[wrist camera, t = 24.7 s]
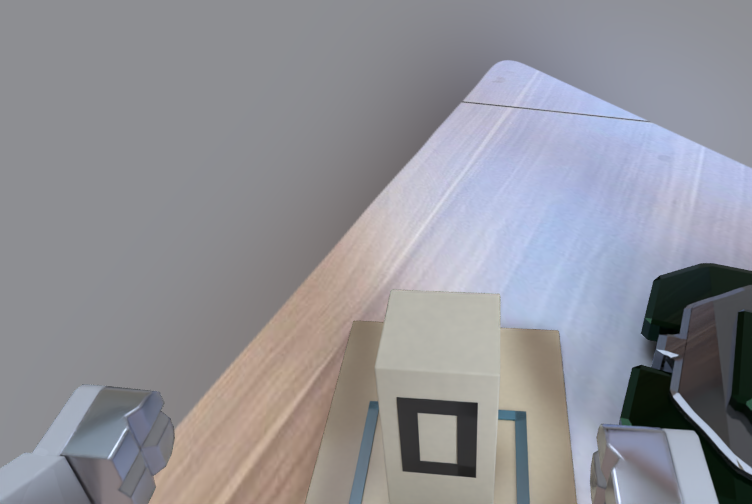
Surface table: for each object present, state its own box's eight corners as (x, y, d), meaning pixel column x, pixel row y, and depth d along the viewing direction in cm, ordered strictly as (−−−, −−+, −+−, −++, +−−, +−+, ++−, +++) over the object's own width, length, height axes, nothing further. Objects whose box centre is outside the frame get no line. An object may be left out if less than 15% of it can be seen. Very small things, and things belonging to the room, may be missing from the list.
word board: (244, 744, 24) (238, 732, 24) (353, 326, 43) (352, 313, 42) (605, 803, 22) (610, 792, 22) (558, 337, 40) (559, 323, 40)
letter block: (389, 516, 31) (373, 369, 25) (402, 432, 35) (390, 288, 29) (492, 526, 30) (500, 376, 24) (493, 440, 34) (500, 293, 28)
